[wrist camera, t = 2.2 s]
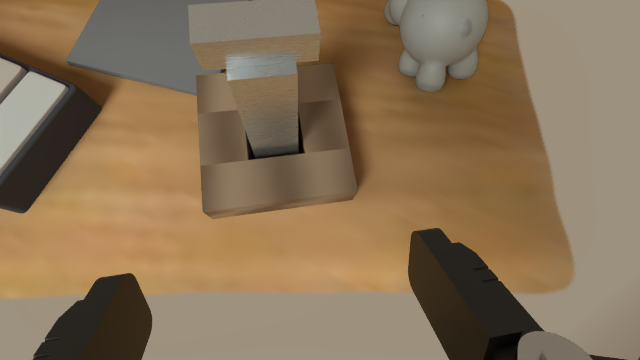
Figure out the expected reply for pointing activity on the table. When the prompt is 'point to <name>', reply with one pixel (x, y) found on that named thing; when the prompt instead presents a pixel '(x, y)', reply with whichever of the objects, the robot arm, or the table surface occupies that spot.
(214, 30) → the t key
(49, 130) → the calculator
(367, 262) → the table surface
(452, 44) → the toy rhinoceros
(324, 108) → the block
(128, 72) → the mat
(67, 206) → the table surface
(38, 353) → the robot arm
